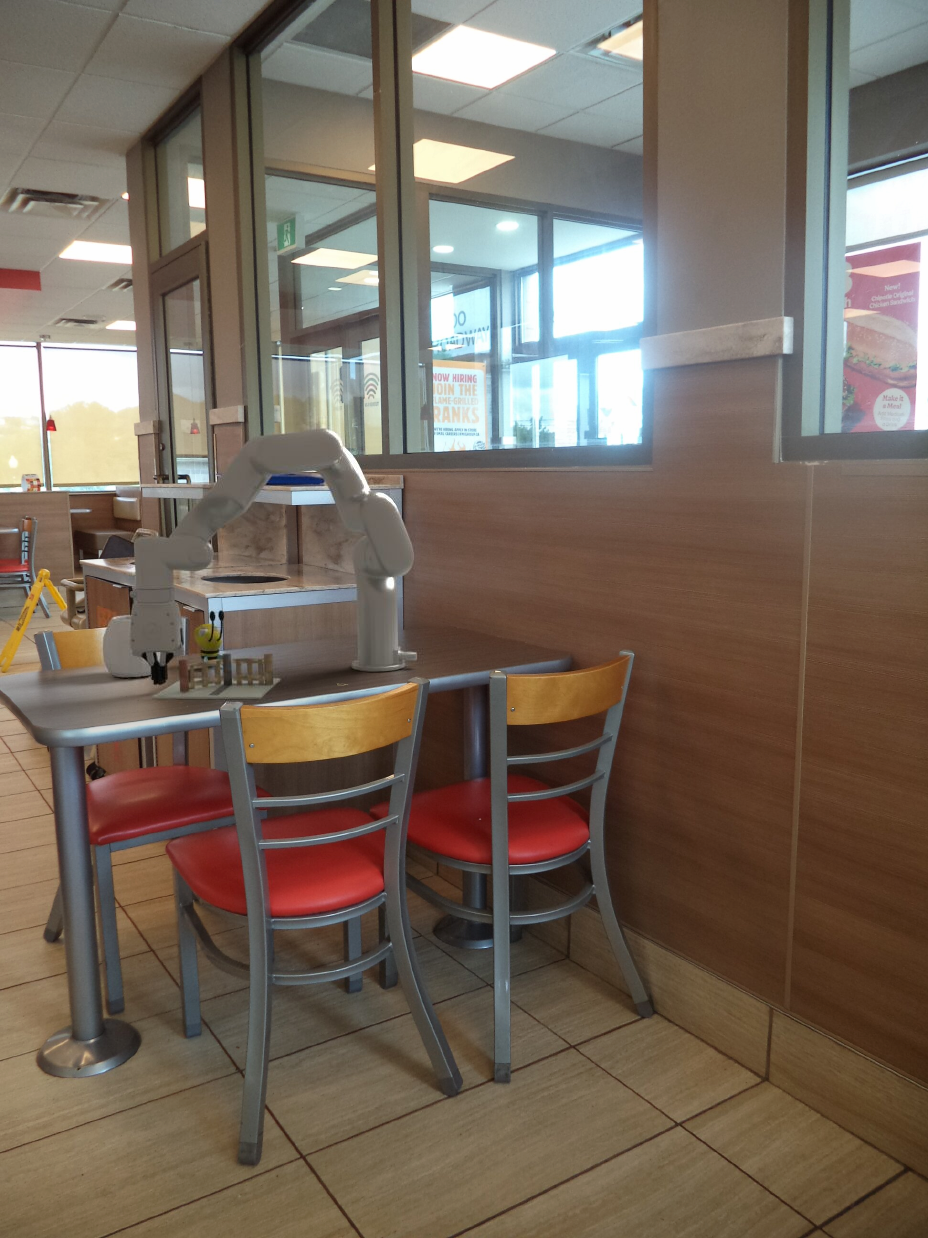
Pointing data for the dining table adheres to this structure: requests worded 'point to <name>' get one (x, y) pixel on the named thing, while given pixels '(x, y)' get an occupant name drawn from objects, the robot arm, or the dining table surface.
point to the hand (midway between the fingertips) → (159, 683)
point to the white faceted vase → (122, 650)
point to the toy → (210, 638)
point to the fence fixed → (248, 670)
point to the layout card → (218, 691)
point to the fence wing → (188, 674)
